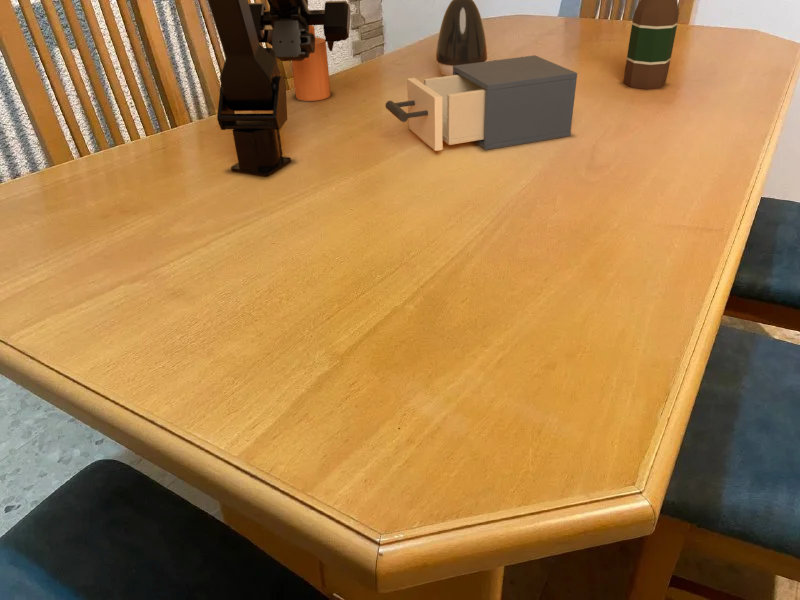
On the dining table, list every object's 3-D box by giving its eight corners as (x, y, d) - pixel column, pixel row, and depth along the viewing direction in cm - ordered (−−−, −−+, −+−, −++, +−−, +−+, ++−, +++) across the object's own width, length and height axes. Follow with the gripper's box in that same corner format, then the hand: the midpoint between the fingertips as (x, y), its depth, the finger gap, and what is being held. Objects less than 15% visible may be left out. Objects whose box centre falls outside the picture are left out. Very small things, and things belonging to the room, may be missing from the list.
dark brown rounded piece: (485, 70, 134) (488, -9, 126) (486, 83, 126) (489, -1, 117) (437, 71, 135) (437, -8, 127) (434, 84, 127) (434, 1, 118)
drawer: (406, 155, 92) (404, 101, 88) (382, 132, 102) (379, 82, 97) (517, 137, 97) (520, 85, 93) (484, 116, 106) (486, 68, 102)
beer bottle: (623, 89, 119) (646, -58, 106) (621, 78, 126) (643, -62, 112) (667, 90, 118) (696, -59, 104) (663, 79, 124) (690, -63, 111)
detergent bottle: (318, 102, 120) (311, 31, 113) (289, 99, 122) (280, 29, 115) (336, 92, 124) (330, 24, 118) (308, 89, 127) (300, 22, 120)
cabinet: (485, 150, 96) (488, 85, 90) (452, 125, 106) (452, 65, 100) (570, 136, 99) (577, 72, 94) (530, 113, 109) (535, 55, 104)
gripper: (222, 39, 101) (253, 89, 117) (337, 37, 100) (354, 89, 115) (228, -23, 104) (258, 35, 119) (342, -26, 102) (357, 33, 117)
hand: (306, 49), depth 117 cm, fingers open, 9 cm apart
